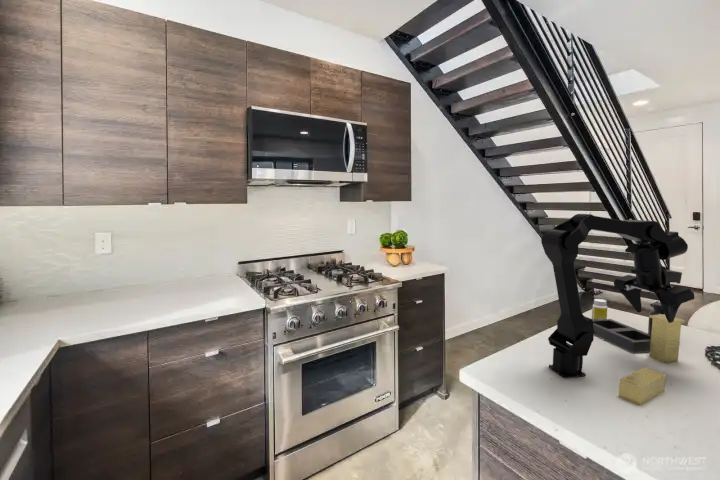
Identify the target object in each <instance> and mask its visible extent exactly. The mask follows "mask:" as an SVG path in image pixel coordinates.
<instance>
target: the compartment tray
mask: <svg viewBox="0 0 720 480" xmlns="http://www.w3.org/2000/svg"><path fill="white" fill-rule="evenodd" d="M593 328H594V331H595V334H593V335H594V337H597V338H600V340H601V339H602V340H603V341H604V340H605V341H606V342H608V343H610V344H612V345H614V346H617V347H618V348H621V349H623V350H625V351H627V352H628V353H631V354H643V353H645V354H646V353H650V344H651V335H650V334H648V332H644V331H642V330H640V329H637V328H636V327H635V328H634V327H632V326H630V325H627V324H624V323H622V322H620V321H617V320H614V319H611V318H607V319H603V320H593Z"/></svg>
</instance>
